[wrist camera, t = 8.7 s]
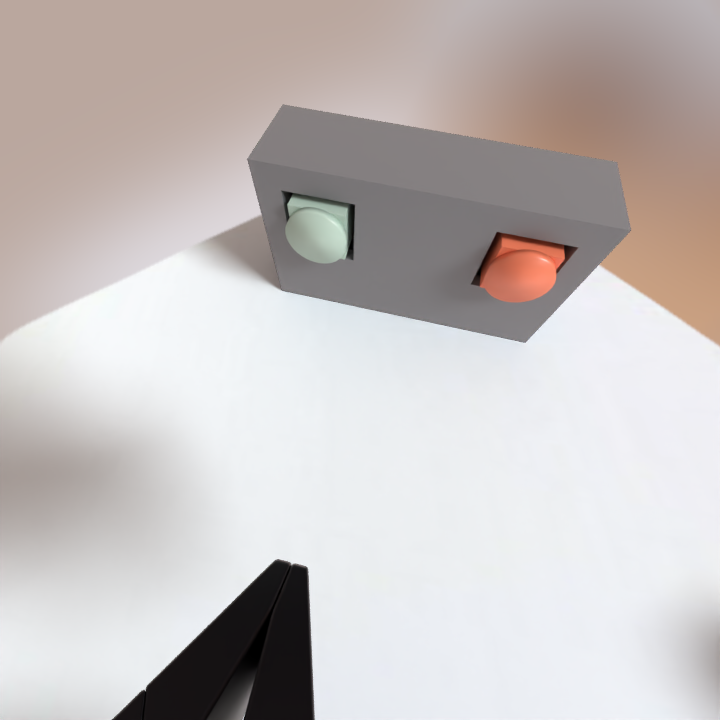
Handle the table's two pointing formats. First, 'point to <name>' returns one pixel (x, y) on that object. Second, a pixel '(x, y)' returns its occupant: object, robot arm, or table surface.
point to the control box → (433, 215)
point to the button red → (520, 267)
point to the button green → (320, 228)
